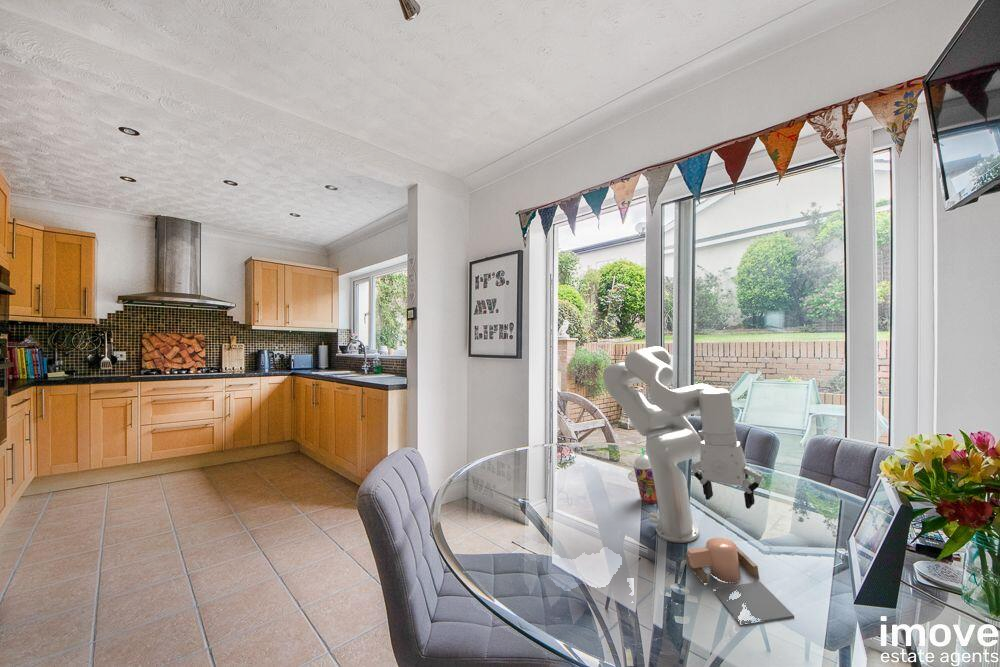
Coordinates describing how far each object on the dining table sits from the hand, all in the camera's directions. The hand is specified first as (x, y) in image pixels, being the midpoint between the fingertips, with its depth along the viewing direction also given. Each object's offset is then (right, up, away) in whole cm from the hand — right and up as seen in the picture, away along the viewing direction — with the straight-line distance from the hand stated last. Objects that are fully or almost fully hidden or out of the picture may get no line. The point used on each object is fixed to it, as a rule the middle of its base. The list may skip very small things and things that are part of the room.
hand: (728, 501), depth 107 cm
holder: (0, -20, +3) cm, 20 cm away
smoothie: (-3, -19, +48) cm, 52 cm away
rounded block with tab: (-3, -20, +1) cm, 20 cm away
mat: (0, -20, -10) cm, 22 cm away
